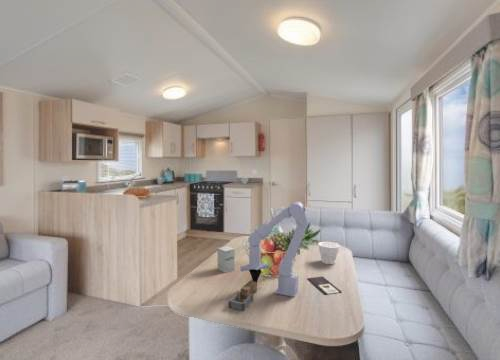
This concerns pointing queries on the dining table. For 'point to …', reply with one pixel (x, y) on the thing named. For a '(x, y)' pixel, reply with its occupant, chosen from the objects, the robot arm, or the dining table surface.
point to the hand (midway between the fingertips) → (254, 283)
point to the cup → (328, 252)
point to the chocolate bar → (324, 285)
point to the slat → (248, 289)
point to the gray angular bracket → (239, 305)
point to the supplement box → (226, 259)
